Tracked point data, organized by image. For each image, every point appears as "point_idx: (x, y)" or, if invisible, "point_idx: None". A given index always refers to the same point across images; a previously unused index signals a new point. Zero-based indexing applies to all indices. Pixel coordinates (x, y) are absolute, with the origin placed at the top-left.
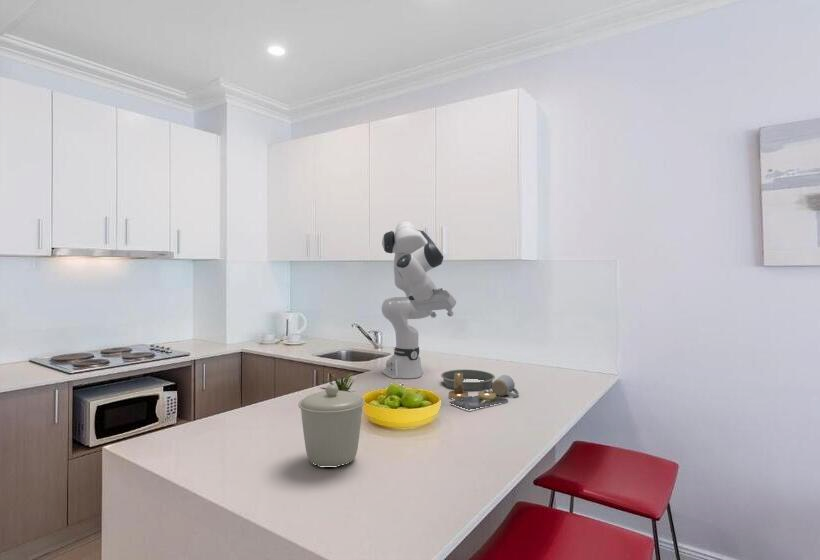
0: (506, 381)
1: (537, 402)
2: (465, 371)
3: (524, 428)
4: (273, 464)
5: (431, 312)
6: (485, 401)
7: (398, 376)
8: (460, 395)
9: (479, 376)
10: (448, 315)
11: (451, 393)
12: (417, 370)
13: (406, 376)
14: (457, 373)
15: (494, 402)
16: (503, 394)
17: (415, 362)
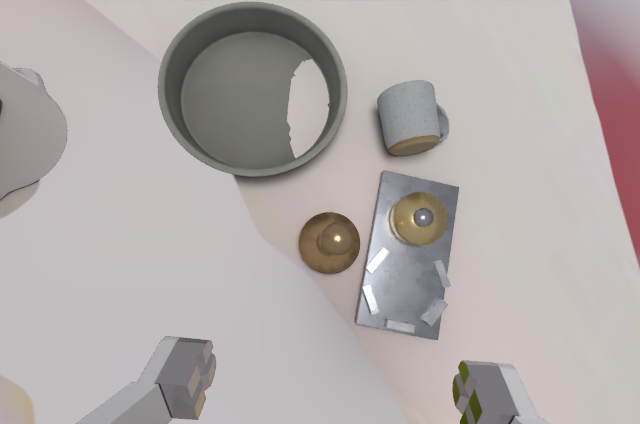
0: (436, 122)
1: (505, 137)
2: (200, 26)
3: (600, 347)
4: None
5: (150, 413)
6: (441, 263)
7: (5, 189)
8: (351, 261)
9: (251, 22)
10: (461, 411)
11: (318, 263)
12: (43, 123)
13: (35, 174)
14: (334, 239)
15: (451, 238)
16: (421, 151)
17: (11, 116)
